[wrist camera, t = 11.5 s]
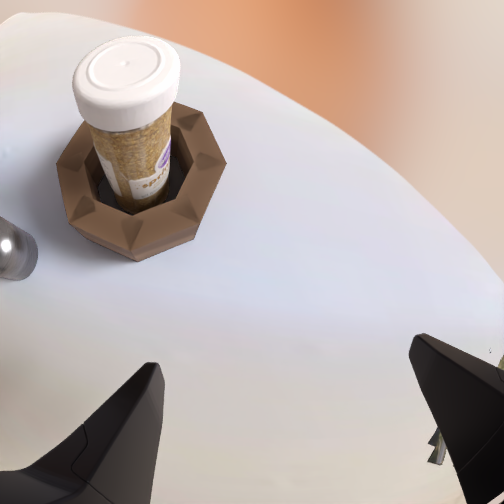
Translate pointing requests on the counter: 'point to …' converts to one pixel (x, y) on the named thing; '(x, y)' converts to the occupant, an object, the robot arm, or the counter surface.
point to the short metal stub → (16, 252)
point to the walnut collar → (154, 219)
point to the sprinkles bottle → (130, 115)
